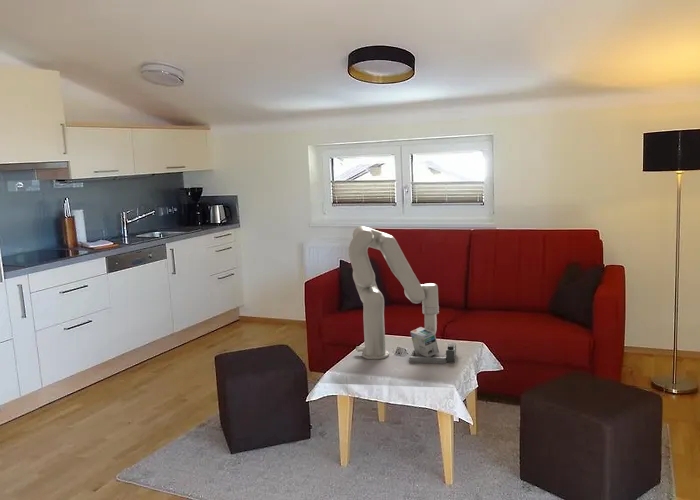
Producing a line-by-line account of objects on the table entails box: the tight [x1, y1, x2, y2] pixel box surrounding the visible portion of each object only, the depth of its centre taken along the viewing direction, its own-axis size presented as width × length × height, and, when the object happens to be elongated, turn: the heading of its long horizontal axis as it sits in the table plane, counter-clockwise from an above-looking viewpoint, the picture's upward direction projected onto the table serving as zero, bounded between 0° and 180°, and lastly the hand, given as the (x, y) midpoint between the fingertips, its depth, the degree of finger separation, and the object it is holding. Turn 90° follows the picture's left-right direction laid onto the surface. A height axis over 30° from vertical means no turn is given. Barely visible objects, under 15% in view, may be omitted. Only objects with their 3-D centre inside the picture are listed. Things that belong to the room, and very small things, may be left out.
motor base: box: [408, 342, 457, 365], centre depth 280 cm, size 20×16×7 cm
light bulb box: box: [410, 326, 440, 357], centre depth 285 cm, size 11×7×11 cm, turn 30°
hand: (432, 348), depth 291 cm, fingers closed
